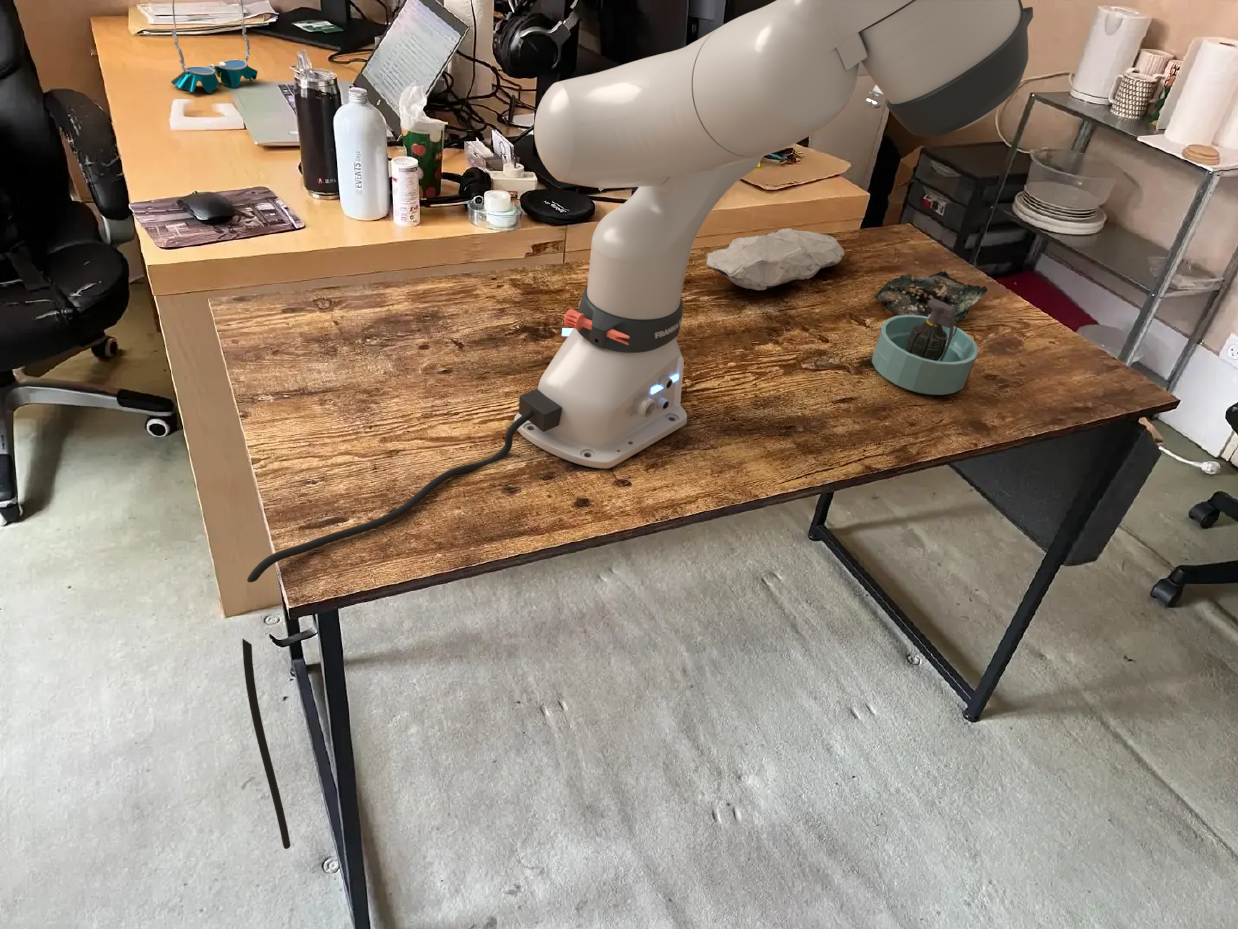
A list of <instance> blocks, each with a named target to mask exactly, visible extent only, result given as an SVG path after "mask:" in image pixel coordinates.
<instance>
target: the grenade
mask: <svg viewBox="0 0 1238 929" xmlns="http://www.w3.org/2000/svg"><path fill="white" fill-rule="evenodd" d="M926 305H928V306H929V307H930V308H932V312H931V315H930V317H929V318H928V319H927V320H926V321H925V322H923V323H922V324H921V325H915V326H914V328H913V329H912V331H911V333H910V335H909V337H908V340H907V343H906V351H907V352H909V353H911V354H913V355H916V356H919V357H922V358H925V359H929V360H934V361H938V360H939V359H940V357H941V356H942V357H941V359H940V362H941V361H942V360H943V358H944V356H945V354H946V352H947V350H948V347H949V345H950V342H951V340H952V337H953V336H954V335H955V333H956V331H957V328H958V324H957V322H955V321H954V319H955V313H956V310H955V308H953V307H951V306H949V305H947V304H946V303H944V302H942V301H939V300H937V299H931V300H930V301H928V302H927V304H926ZM942 325H943V326H945V327H947V328H950V332H949V338H947V333H946V332H945V331H943V328H942ZM954 326H955V327H956V329H955V332H954V334H953V329H954ZM947 339H948V342H947ZM946 342H947V345H946ZM945 347H946V348H945ZM944 349H945V350H944ZM943 352H944V353H943ZM942 354H943V355H942Z"/></svg>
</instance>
